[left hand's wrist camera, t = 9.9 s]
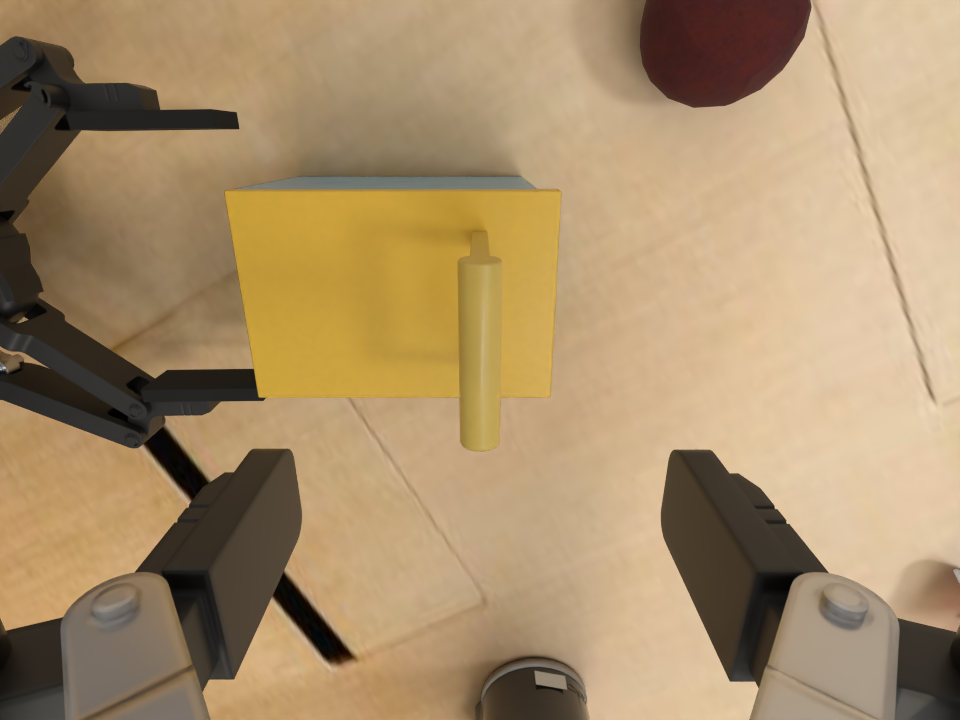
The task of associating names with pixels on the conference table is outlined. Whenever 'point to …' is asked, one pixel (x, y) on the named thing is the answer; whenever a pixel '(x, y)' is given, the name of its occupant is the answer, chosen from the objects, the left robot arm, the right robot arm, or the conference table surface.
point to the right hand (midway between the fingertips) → (251, 263)
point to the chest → (397, 182)
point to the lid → (400, 294)
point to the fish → (957, 576)
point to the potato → (719, 46)
